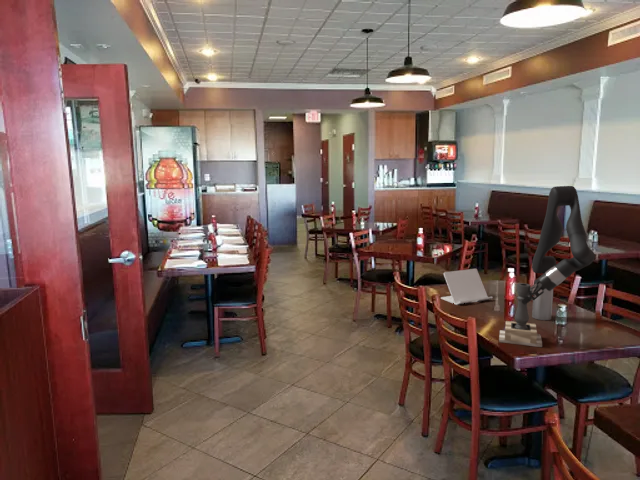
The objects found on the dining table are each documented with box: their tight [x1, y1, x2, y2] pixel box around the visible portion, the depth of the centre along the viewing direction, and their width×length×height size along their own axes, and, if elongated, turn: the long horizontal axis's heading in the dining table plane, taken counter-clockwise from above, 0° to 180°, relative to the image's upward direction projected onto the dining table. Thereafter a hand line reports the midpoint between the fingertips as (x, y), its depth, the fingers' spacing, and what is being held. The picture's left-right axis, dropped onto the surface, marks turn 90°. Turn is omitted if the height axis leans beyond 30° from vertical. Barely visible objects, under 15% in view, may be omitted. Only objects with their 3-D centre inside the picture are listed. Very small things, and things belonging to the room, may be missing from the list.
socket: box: [498, 320, 543, 348], centre depth 222 cm, size 14×18×6 cm
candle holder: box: [514, 282, 531, 330], centre depth 220 cm, size 6×6×25 cm
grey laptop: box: [440, 268, 494, 306], centre depth 286 cm, size 18×25×17 cm
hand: (522, 300), depth 219 cm, fingers open, 8 cm apart
